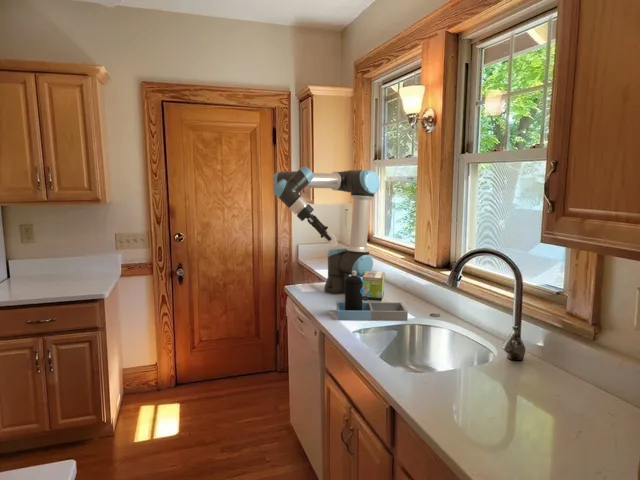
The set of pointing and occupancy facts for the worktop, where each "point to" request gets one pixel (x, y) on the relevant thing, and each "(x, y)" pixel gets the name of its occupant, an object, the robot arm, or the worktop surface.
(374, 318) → the tray
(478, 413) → the worktop surface
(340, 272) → the robot arm
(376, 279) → the tea box
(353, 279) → the black bottle
